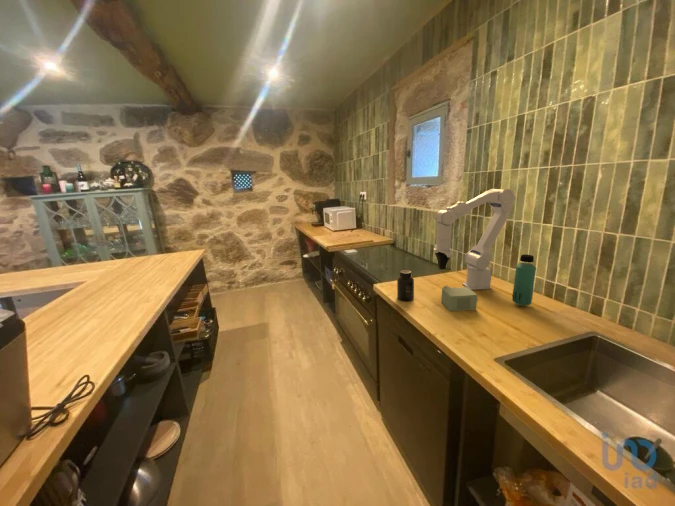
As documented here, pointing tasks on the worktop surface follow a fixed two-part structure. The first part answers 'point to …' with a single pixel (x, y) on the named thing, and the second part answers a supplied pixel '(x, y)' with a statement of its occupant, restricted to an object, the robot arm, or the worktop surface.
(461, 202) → the robot arm
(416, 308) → the worktop surface
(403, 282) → the supplement bottle
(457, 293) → the block
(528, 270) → the beverage bottle
